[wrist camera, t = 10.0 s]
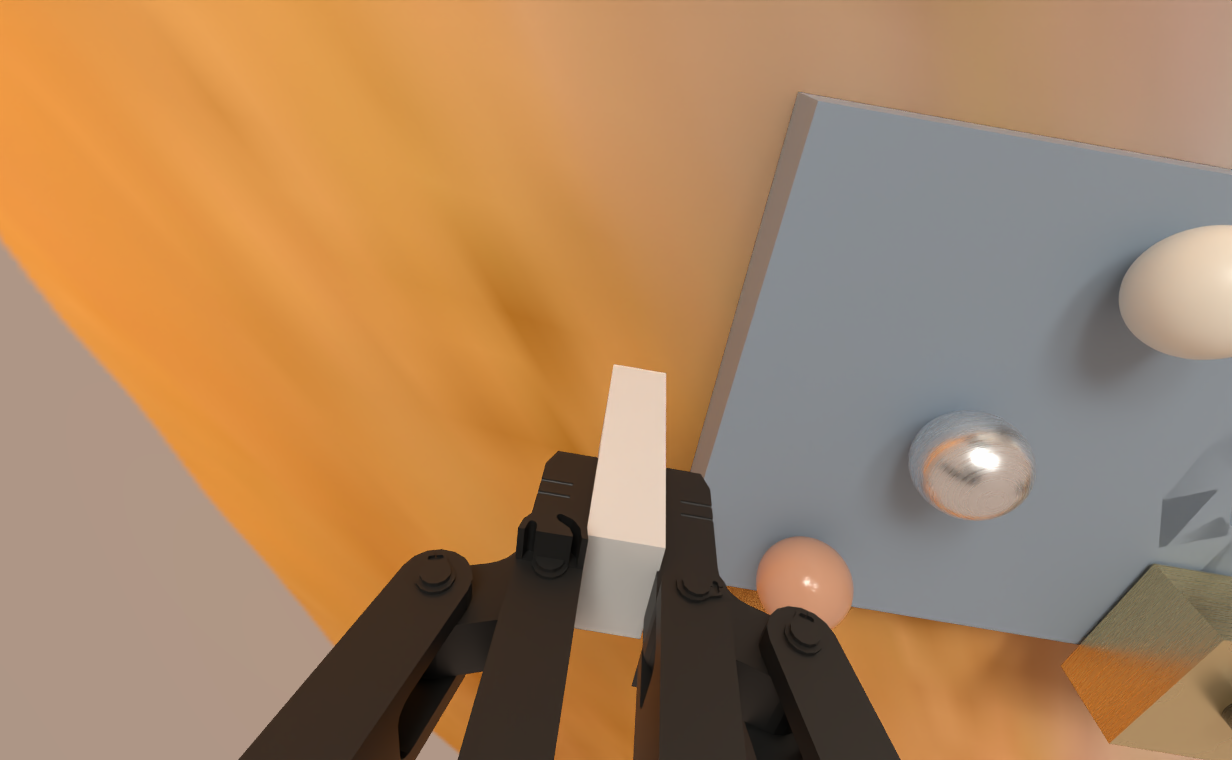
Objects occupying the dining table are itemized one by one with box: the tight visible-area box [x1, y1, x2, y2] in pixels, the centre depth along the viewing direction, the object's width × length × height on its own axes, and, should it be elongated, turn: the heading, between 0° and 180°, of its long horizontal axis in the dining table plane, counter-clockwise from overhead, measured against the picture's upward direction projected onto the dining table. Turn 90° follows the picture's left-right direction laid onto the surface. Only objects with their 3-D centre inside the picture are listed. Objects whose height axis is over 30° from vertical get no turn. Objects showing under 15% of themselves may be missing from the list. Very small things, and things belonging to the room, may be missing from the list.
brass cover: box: [1061, 564, 1232, 760], centre depth 20 cm, size 6×6×4 cm
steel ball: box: [908, 410, 1036, 521], centre depth 17 cm, size 3×3×3 cm
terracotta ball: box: [756, 536, 854, 629], centre depth 20 cm, size 3×3×3 cm
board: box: [690, 92, 1232, 645], centre depth 20 cm, size 17×24×2 cm
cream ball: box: [1119, 225, 1232, 360], centre depth 14 cm, size 3×3×3 cm
